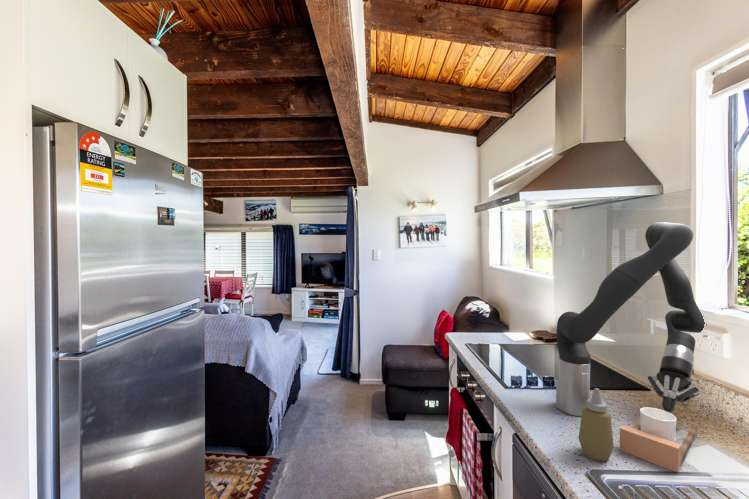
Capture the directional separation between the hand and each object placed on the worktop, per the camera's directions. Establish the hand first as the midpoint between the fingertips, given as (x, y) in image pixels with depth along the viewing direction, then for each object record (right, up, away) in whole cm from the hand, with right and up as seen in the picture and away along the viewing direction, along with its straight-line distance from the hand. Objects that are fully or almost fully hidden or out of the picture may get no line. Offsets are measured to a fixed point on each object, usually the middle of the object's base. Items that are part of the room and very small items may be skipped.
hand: (667, 410), depth 106 cm
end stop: (-16, -7, -13) cm, 22 cm away
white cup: (-11, -7, -9) cm, 15 cm away
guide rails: (-6, -7, -4) cm, 10 cm away
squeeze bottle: (-29, -7, -12) cm, 33 cm away
